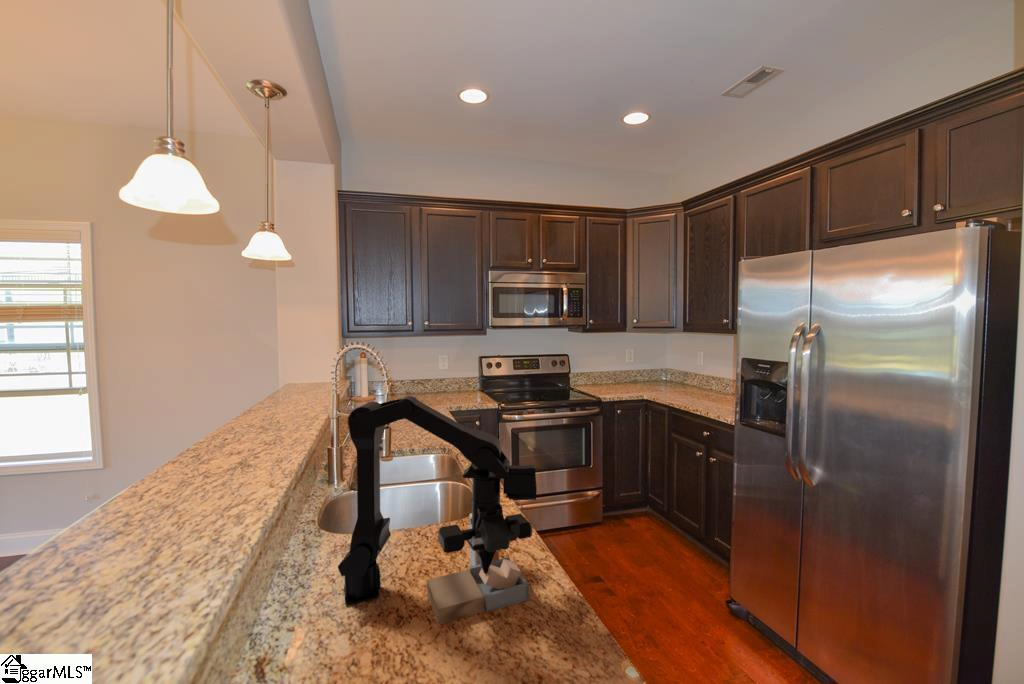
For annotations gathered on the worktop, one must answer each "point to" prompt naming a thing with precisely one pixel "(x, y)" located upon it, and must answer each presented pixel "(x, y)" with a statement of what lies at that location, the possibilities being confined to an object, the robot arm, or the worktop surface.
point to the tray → (497, 596)
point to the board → (454, 596)
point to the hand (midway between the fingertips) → (485, 572)
